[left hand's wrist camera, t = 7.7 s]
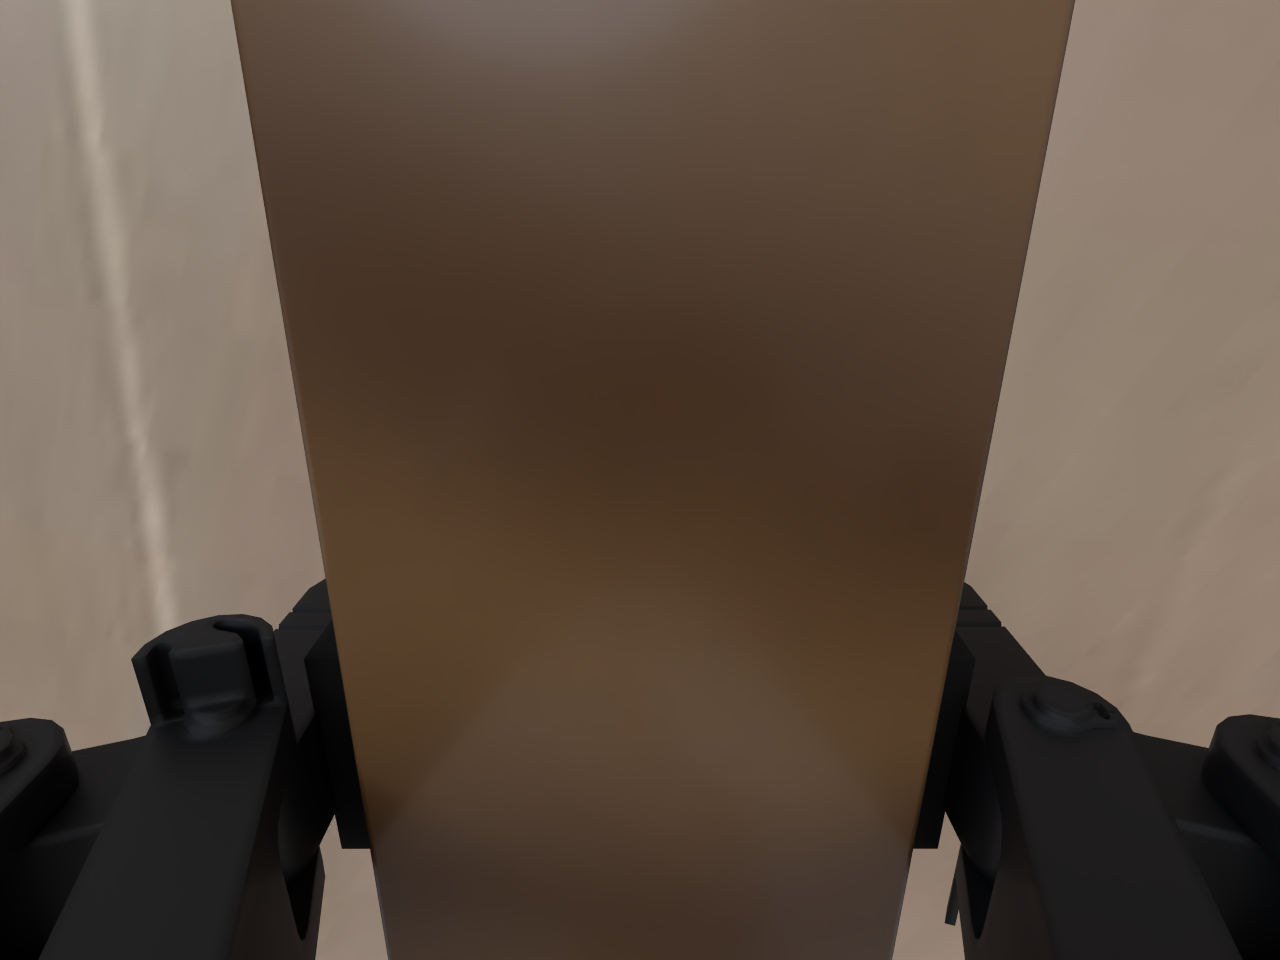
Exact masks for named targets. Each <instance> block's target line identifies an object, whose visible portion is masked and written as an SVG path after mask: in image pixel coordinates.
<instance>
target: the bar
mask: <svg viewBox="0 0 1280 960" xmlns="http://www.w3.org/2000/svg"><path fill="white" fill-rule="evenodd" d="M1074 3H1075V0H231V5H232V11H233V18H234V24H235V30H236V36H237V42H238V48H239V54H240V60H241V66H242V72H243V78H244V84H245V90H246V97H247V103H248V109H249V115H250V121H251V127H252V133H253V139H254V145H255V151H256V157H257V163H258V170H259V176H260V182H261V188H262V194H263V200H264V206H265V212H266V218H267V224H268V230H269V236H270V242H271V249H272V255H273V261H274V267H275V273H276V279H277V285H278V291H279V297H280V303H281V309H282V315H283V322H284V328H285V334H286V340H287V346H288V352H289V358H290V364H291V370H292V376H293V382H294V388H295V394H296V401H297V407H298V413H299V419H300V425H301V431H302V437H303V443H304V449H305V455H306V461H307V467H308V474H309V480H310V486H311V492H312V498H313V504H314V510H315V516H316V522H317V528H318V534H319V540H320V547H321V553H322V559H323V565H324V571H325V577H326V583H327V589H328V595H329V601H330V607H331V613H332V619H333V626H334V632H335V638H336V644H337V650H338V656H339V662H340V668H341V674H342V680H343V686H344V692H345V699H346V705H347V711H348V717H349V723H350V729H351V735H352V741H353V747H354V753H355V759H356V765H357V771H358V778H359V784H360V790H361V796H362V802H363V808H364V814H365V820H366V826H367V832H368V838H369V844H370V851H371V857H372V863H373V869H374V875H375V881H376V887H377V893H378V899H379V905H380V911H381V917H382V923H383V930H384V936H385V942H386V948H387V954H388V960H892V957H893V951H894V946H895V941H896V936H897V930H898V925H899V920H900V915H901V909H902V904H903V899H904V894H905V888H906V883H907V878H908V873H909V867H910V862H911V857H912V852H913V847H914V841H915V836H916V831H917V826H918V820H919V815H920V810H921V805H922V799H923V794H924V789H925V784H926V778H927V773H928V768H929V763H930V758H931V752H932V747H933V742H934V737H935V731H936V726H937V721H938V716H939V710H940V705H941V700H942V695H943V689H944V684H945V679H946V674H947V668H948V663H949V658H950V653H951V648H952V642H953V637H954V632H955V627H956V621H957V616H958V611H959V606H960V600H961V595H962V590H963V585H964V579H965V574H966V569H967V564H968V559H969V553H970V548H971V543H972V538H973V532H974V527H975V522H976V517H977V511H978V506H979V501H980V496H981V490H982V485H983V480H984V475H985V469H986V464H987V459H988V454H989V449H990V443H991V438H992V433H993V428H994V422H995V417H996V412H997V407H998V401H999V396H1000V391H1001V386H1002V380H1003V375H1004V370H1005V365H1006V360H1007V354H1008V349H1009V344H1010V339H1011V333H1012V328H1013V323H1014V318H1015V312H1016V307H1017V302H1018V297H1019V291H1020V286H1021V281H1022V276H1023V270H1024V265H1025V260H1026V255H1027V250H1028V244H1029V239H1030V234H1031V229H1032V223H1033V218H1034V213H1035V208H1036V202H1037V197H1038V192H1039V187H1040V181H1041V176H1042V171H1043V166H1044V161H1045V155H1046V150H1047V145H1048V140H1049V134H1050V129H1051V124H1052V119H1053V113H1054V108H1055V103H1056V98H1057V92H1058V87H1059V82H1060V77H1061V71H1062V66H1063V61H1064V56H1065V51H1066V45H1067V40H1068V35H1069V30H1070V24H1071V19H1072V14H1073V9H1074Z"/></svg>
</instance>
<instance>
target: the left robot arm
mask: <svg viewBox="0 0 1280 960" xmlns="http://www.w3.org/2000/svg"><path fill="white" fill-rule="evenodd" d="M131 660H132V664H133V667H134V670H135V673H136V677H137V680H138V683H139V687H140V690H141V693H142V696H143V700H144V703H145V706H146V710H147V713H148V716H149V719H150V723H151V726H150V728H149V730H148V732H147V734H146V736H142V737H138V738H135V739H130V740H125V741H120V742H116V743H111V744H106V745H101V746H96V747H91V748H86V749H81V750H77V751H71V748H70V745H69V743H68V740H67V737H66V734H65V732H64V729H63V728H62V727H60V726H59V725H58V724H56V723H55V722H54V721H52V720H45V719H36V718H26V719H19V720H12V721H5V722H0V960H315V957H316V948H317V940H318V931H319V923H320V915H321V906H322V898H323V890H324V881H325V873H324V866H323V859H322V855H321V850H320V843H321V841H322V839H323V837H324V835H325V833H326V831H327V829H328V827H329V825H330V823H331V821H332V818H333V816H334V814H335V817H336V822H337V827H338V832H339V837H340V842H341V847H342V849H370V844H369V838H368V832H367V826H366V820H365V814H364V808H363V802H362V796H361V790H360V784H359V778H358V771H357V765H356V759H355V753H354V747H353V741H352V735H351V729H350V723H349V717H348V711H347V705H346V699H345V692H344V686H343V680H342V674H341V668H340V662H339V656H338V650H337V644H336V638H335V632H334V626H333V619H332V613H331V607H330V601H329V595H328V589H327V583H326V579H324V580H322V581H321V582H319V583H318V584H316V585H314V586H313V587H311V588H310V589H309V590H308V591H307V592H306V593H305V594H304V596H303V597H302V598H301V599H300V600H299V602H298V603H297V604H296V605H295V606H294V608H293V612H289V614H288V615H287V616H286V617H285V618H284V620H283V621H282V622H281V623H280V624H279V629H275V630H274V632H273V628H272V626H271V625H270V624H269V623H267V622H266V621H265V620H263V619H262V618H259V617H254V616H249V615H244V614H236V615H218V616H213V617H209V618H204V619H200V620H195V621H191V622H189V623H186V624H184V625H181V626H178V627H176V628H173V629H171V630H168V631H166V632H164V633H163V634H161V635H159V636H158V637H156V638H154V639H153V640H151V641H150V642H148V643H146V644H145V645H144V646H143V647H142V648H141V649H140V650H139V651H138V652H137V653H136V654H135V655H134V656H133V658H132V659H131ZM945 812H946V814H947V816H948V818H949V820H950V822H951V824H952V826H953V828H954V830H955V832H956V834H957V836H958V838H959V840H960V842H961V845H960V850H959V855H958V859H957V864H956V869H955V873H954V878H953V882H952V887H951V892H950V896H949V901H948V906H947V912H946V918H945V923H946V924H950V925H954V926H955V923H956V919H957V914H958V910H959V913H960V921H961V930H962V938H963V946H964V954H965V960H1280V719H1279V718H1272V717H1265V716H1258V715H1250V714H1249V715H1240V716H1231V717H1228V718H1226V719H1225V720H1224V721H1222V722H1221V723H1219V724H1218V725H1217V727H1216V730H1215V732H1214V735H1213V738H1212V741H1211V744H1210V746H1209V748H1205V747H1200V746H1195V745H1190V744H1185V743H1181V742H1176V741H1171V740H1166V739H1161V738H1156V737H1151V736H1146V735H1143V734H1139V733H1135V732H1133V731H1132V729H1131V727H1130V725H1129V723H1128V722H1127V721H1126V719H1125V718H1124V717H1123V715H1122V714H1121V713H1120V712H1119V710H1118V709H1117V708H1116V707H1115V706H1113V705H1112V704H1110V703H1109V702H1108V701H1106V700H1105V699H1103V698H1102V697H1101V696H1099V695H1098V694H1096V693H1094V692H1092V691H1090V690H1088V689H1085V688H1083V687H1081V686H1079V685H1077V684H1074V683H1072V682H1069V681H1065V680H1061V679H1057V678H1053V677H1049V676H1046V675H1045V674H1044V673H1043V672H1042V671H1041V669H1040V668H1039V667H1038V666H1037V665H1036V663H1035V662H1034V661H1033V660H1032V659H1031V657H1030V656H1029V655H1028V654H1027V653H1026V651H1025V650H1024V649H1023V648H1022V647H1021V646H1020V644H1019V643H1018V642H1017V641H1016V640H1015V638H1014V637H1013V636H1012V635H1011V634H1010V632H1009V631H1008V630H1007V629H1006V628H1005V627H1002V626H1001V622H1000V620H999V619H998V618H997V617H996V616H995V614H994V613H993V612H992V611H991V610H988V609H987V605H986V604H985V603H984V601H983V600H982V599H981V598H980V597H979V595H978V594H977V593H976V592H975V591H974V589H973V588H972V587H971V586H970V585H968V584H966V583H965V582H964V585H963V590H962V595H961V600H960V606H959V611H958V616H957V621H956V627H955V632H954V637H953V642H952V648H951V653H950V658H949V663H948V668H947V674H946V679H945V684H944V689H943V695H942V700H941V705H940V710H939V716H938V721H937V726H936V731H935V737H934V742H933V747H932V752H931V758H930V763H929V768H928V773H927V778H926V784H925V789H924V794H923V799H922V805H921V810H920V815H919V820H918V826H917V831H916V836H915V841H914V847H913V849H938V844H939V839H940V834H941V829H942V824H943V819H944V814H945Z"/></svg>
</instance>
